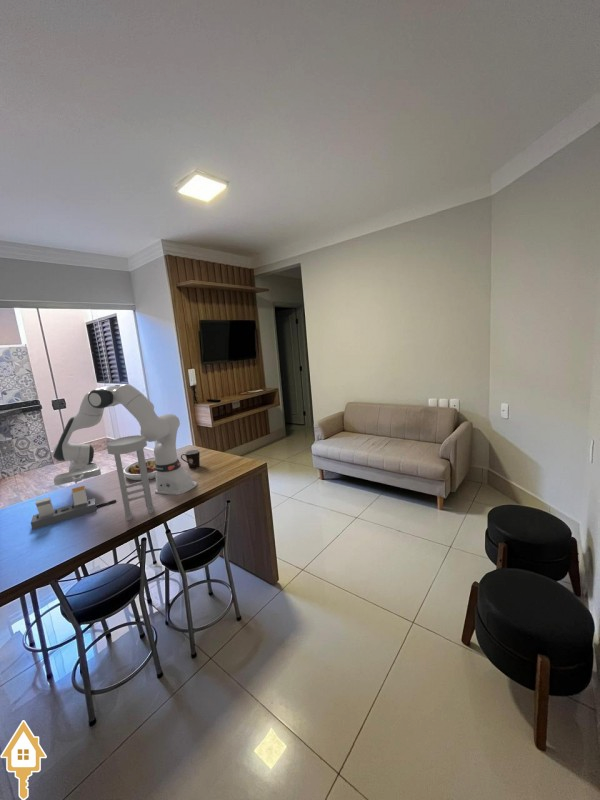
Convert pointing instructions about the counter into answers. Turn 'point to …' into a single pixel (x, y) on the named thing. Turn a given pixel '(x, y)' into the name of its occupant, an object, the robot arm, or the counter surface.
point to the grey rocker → (44, 506)
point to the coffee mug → (192, 459)
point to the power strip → (66, 513)
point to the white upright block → (79, 495)
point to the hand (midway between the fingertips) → (77, 480)
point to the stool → (137, 445)
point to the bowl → (134, 471)
